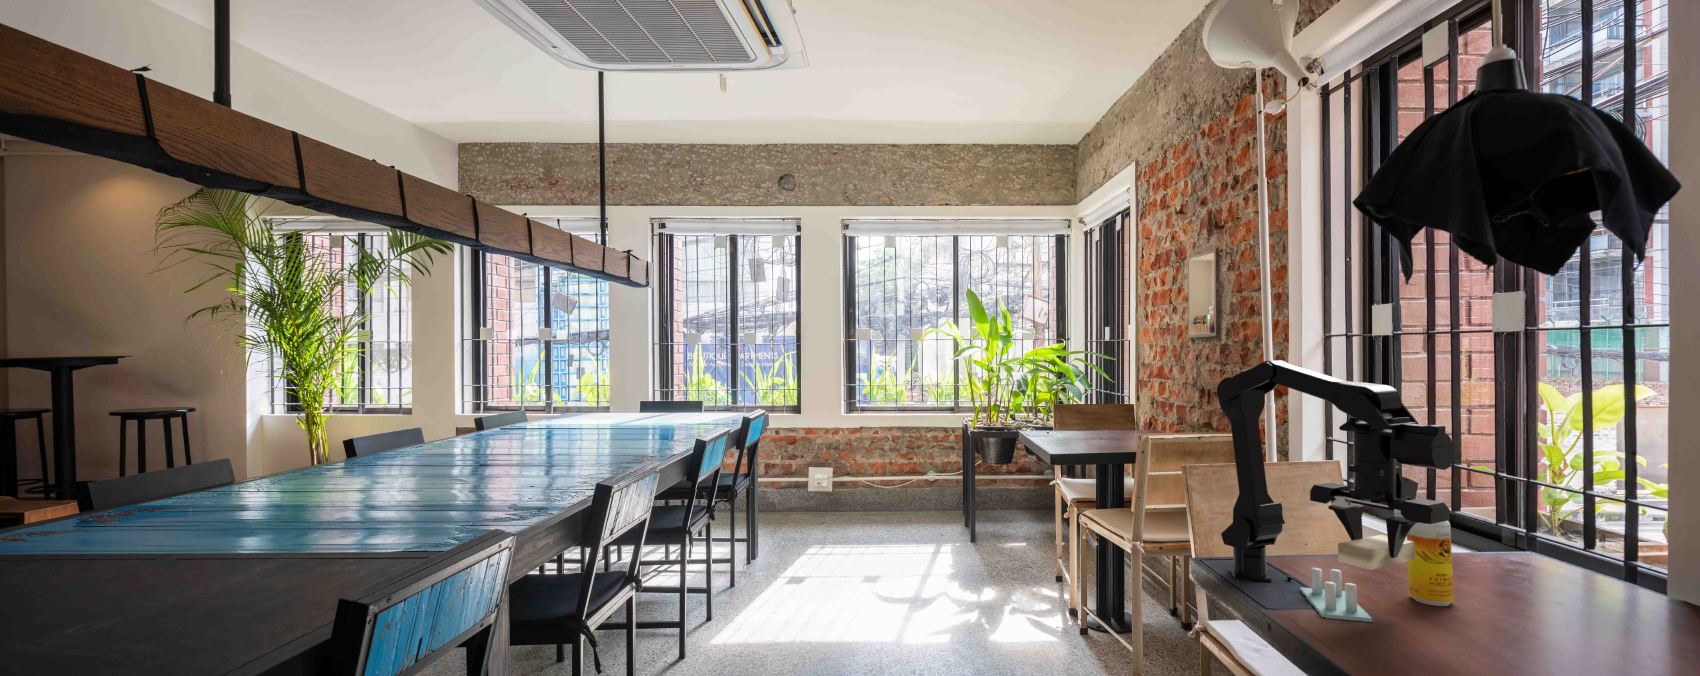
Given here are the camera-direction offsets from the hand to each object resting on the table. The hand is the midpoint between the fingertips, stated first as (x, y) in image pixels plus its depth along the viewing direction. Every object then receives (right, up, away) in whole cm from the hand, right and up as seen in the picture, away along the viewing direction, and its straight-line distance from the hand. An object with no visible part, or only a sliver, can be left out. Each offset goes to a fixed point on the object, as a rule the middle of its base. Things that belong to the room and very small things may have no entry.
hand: (1376, 553), depth 118 cm
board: (0, -1, 0) cm, 1 cm away
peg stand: (-3, -11, +5) cm, 13 cm away
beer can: (+15, -11, +6) cm, 19 cm away
